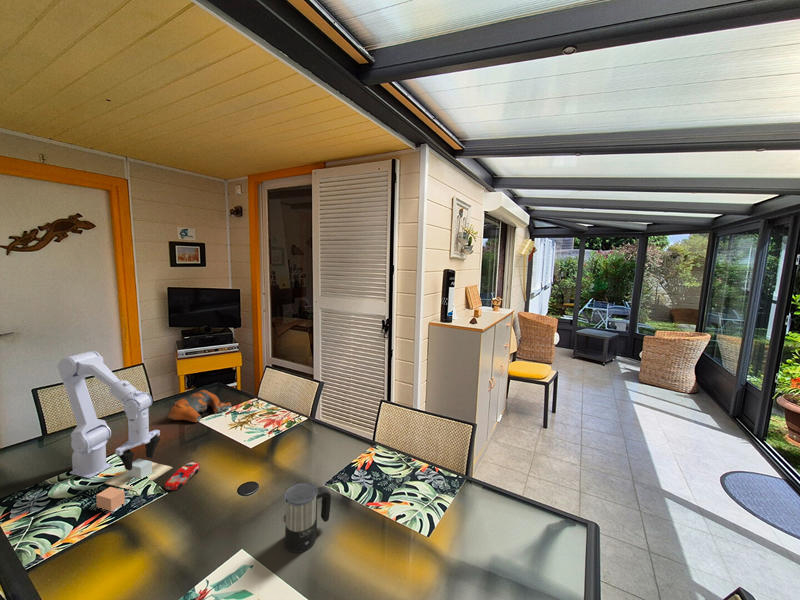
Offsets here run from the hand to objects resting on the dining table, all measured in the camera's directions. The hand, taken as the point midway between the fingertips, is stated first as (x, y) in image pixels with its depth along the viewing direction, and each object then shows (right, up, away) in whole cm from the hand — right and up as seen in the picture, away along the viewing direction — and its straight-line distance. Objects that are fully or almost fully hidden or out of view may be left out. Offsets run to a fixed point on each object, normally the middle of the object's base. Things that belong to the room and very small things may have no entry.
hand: (139, 463), depth 119 cm
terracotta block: (+2, -7, -14) cm, 16 cm away
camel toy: (-7, 0, +49) cm, 49 cm away
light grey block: (0, -4, 0) cm, 4 cm away
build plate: (0, -5, 0) cm, 5 cm away
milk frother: (+64, -11, -19) cm, 68 cm away
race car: (+16, -6, 0) cm, 17 cm away
